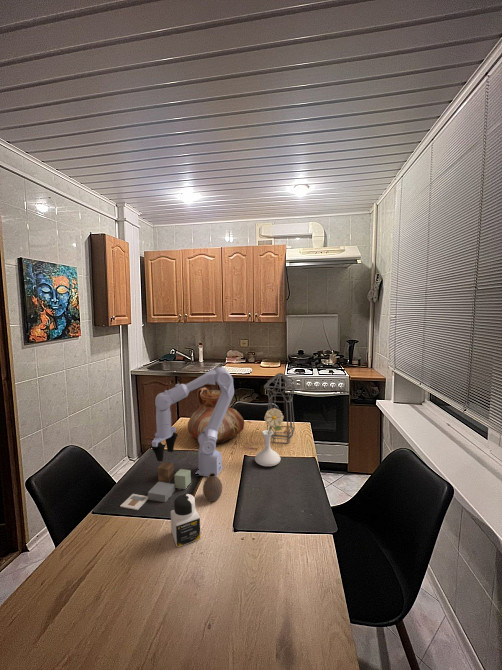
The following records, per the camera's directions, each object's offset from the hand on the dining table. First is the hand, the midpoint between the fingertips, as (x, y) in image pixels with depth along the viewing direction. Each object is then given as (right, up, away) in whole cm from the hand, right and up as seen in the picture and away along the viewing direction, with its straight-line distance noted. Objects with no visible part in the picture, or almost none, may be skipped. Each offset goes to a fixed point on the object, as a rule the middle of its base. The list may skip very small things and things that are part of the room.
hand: (165, 456), depth 121 cm
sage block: (+8, -10, -5) cm, 14 cm away
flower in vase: (+43, -8, +12) cm, 45 cm away
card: (-7, -11, -14) cm, 19 cm away
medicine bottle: (+15, -12, -30) cm, 36 cm away
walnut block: (0, -9, +1) cm, 10 cm away
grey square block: (+2, -11, -10) cm, 15 cm away
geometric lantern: (+50, -6, +36) cm, 62 cm away
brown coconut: (+21, -11, -12) cm, 26 cm away
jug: (+16, -6, +40) cm, 43 cm away
